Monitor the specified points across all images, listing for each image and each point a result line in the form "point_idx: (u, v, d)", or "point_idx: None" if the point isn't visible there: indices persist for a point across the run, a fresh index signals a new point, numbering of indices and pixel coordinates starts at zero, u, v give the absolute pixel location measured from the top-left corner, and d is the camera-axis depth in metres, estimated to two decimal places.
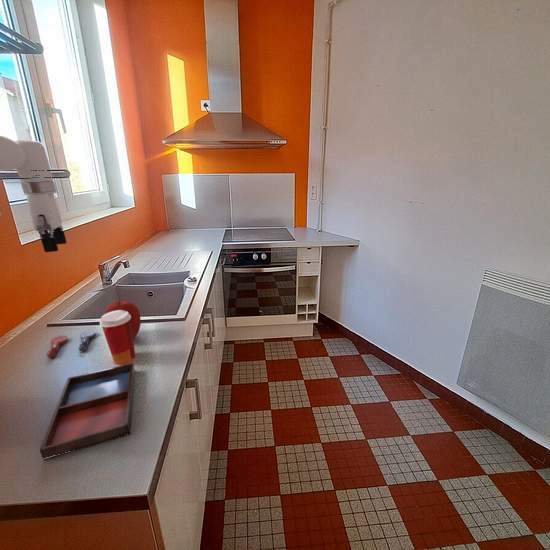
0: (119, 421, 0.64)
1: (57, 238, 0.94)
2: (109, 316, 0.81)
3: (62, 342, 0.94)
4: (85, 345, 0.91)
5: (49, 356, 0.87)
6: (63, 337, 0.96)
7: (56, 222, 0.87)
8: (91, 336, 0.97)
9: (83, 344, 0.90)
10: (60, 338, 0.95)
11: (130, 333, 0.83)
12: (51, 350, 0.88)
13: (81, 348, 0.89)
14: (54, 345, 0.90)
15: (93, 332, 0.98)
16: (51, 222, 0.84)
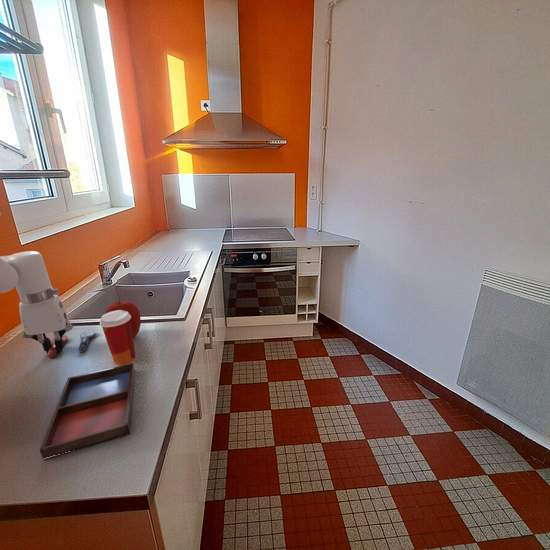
0: (119, 421, 0.64)
1: None
2: (109, 316, 0.81)
3: None
4: (85, 345, 0.91)
5: (49, 356, 0.87)
6: (63, 337, 0.96)
7: (37, 329, 0.85)
8: (91, 336, 0.97)
9: (83, 344, 0.90)
10: None
11: (130, 333, 0.83)
12: (51, 350, 0.88)
13: (81, 348, 0.89)
14: (54, 345, 0.90)
15: (93, 332, 0.98)
16: (24, 329, 0.84)
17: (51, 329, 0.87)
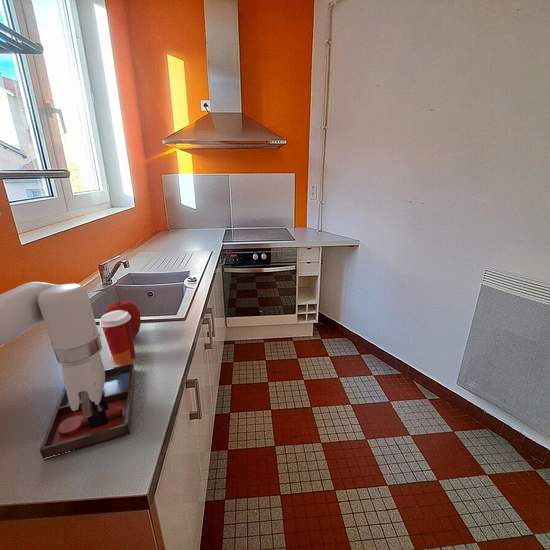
0: (119, 421, 0.64)
1: None
2: (109, 316, 0.81)
3: None
4: None
5: (122, 411, 0.65)
6: (69, 420, 0.63)
7: (101, 389, 0.61)
8: None
9: None
10: (71, 422, 0.63)
11: (130, 333, 0.83)
12: (113, 408, 0.65)
13: None
14: None
15: None
16: (96, 397, 0.58)
17: (103, 382, 0.64)
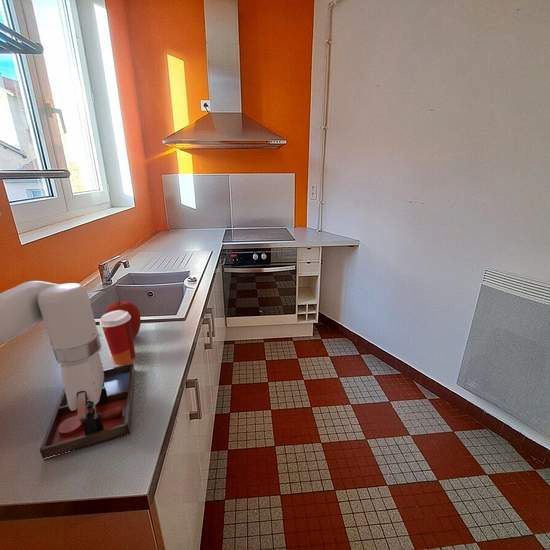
0: (119, 421, 0.64)
1: None
2: (109, 316, 0.81)
3: None
4: None
5: (122, 411, 0.65)
6: (69, 420, 0.63)
7: (100, 389, 0.60)
8: None
9: None
10: (71, 422, 0.63)
11: (130, 333, 0.83)
12: (113, 409, 0.65)
13: None
14: (98, 412, 0.64)
15: None
16: (95, 397, 0.57)
17: (102, 381, 0.63)
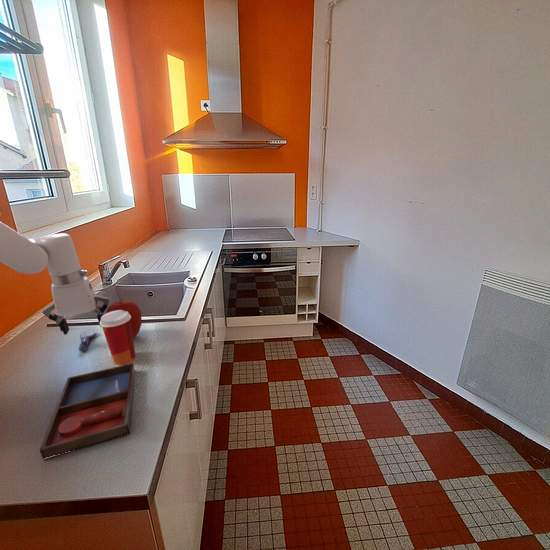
0: (119, 421, 0.64)
1: None
2: (109, 316, 0.81)
3: None
4: (85, 345, 0.91)
5: (122, 411, 0.65)
6: (69, 420, 0.63)
7: (69, 311, 0.87)
8: (91, 336, 0.97)
9: (83, 344, 0.90)
10: (71, 422, 0.63)
11: (130, 333, 0.83)
12: (113, 409, 0.65)
13: (81, 348, 0.89)
14: (98, 412, 0.64)
15: (93, 332, 0.98)
16: (56, 311, 0.86)
17: (82, 310, 0.89)
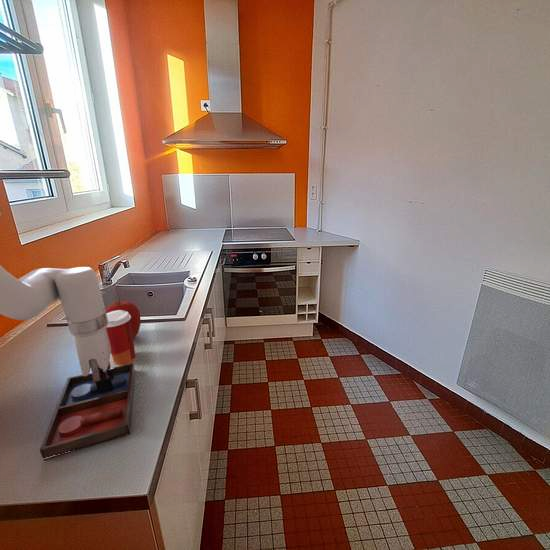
0: (119, 421, 0.64)
1: None
2: (109, 316, 0.81)
3: None
4: None
5: (122, 411, 0.65)
6: (69, 420, 0.63)
7: (108, 359, 0.70)
8: None
9: None
10: (71, 422, 0.63)
11: (130, 333, 0.83)
12: (113, 409, 0.65)
13: (125, 378, 0.75)
14: (98, 412, 0.64)
15: (82, 385, 0.73)
16: (104, 365, 0.67)
17: (109, 354, 0.73)
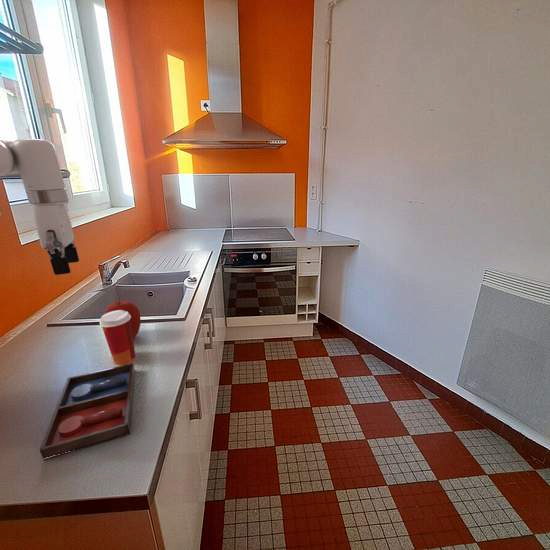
0: (119, 421, 0.64)
1: (68, 256, 0.79)
2: (109, 316, 0.81)
3: None
4: None
5: (122, 411, 0.65)
6: (69, 420, 0.63)
7: (68, 238, 0.72)
8: None
9: None
10: (71, 422, 0.63)
11: (130, 333, 0.83)
12: (113, 409, 0.65)
13: (125, 378, 0.75)
14: (98, 412, 0.64)
15: (82, 385, 0.73)
16: (62, 238, 0.69)
17: (71, 238, 0.75)
